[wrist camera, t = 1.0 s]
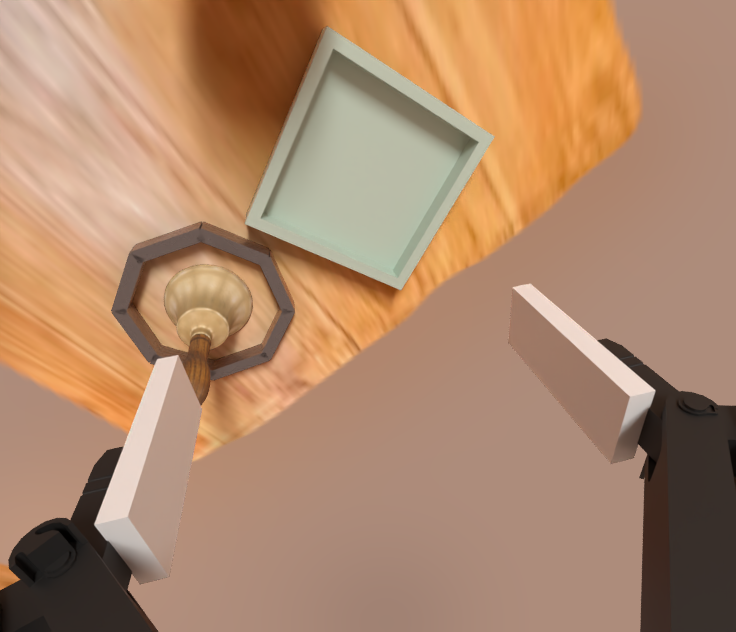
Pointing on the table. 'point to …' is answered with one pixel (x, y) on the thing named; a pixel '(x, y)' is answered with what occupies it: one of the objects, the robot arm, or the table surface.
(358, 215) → the green square tray
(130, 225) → the table surface
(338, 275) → the table surface
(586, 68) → the table surface
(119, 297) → the collar
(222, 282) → the hand bell
